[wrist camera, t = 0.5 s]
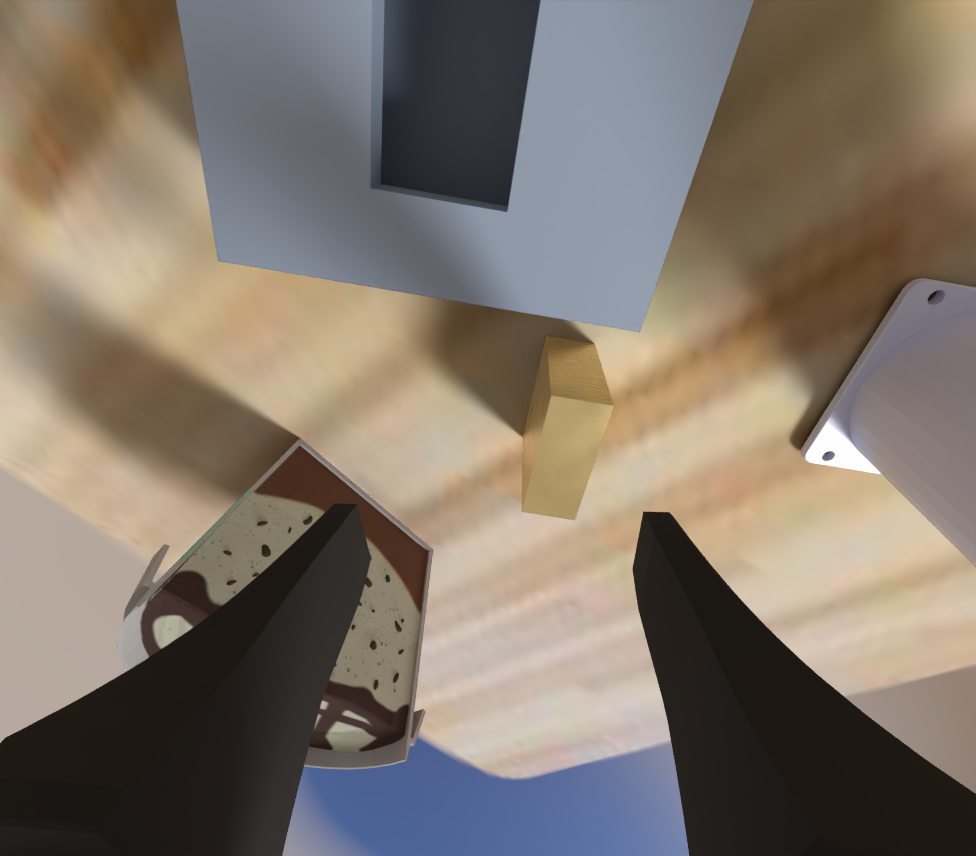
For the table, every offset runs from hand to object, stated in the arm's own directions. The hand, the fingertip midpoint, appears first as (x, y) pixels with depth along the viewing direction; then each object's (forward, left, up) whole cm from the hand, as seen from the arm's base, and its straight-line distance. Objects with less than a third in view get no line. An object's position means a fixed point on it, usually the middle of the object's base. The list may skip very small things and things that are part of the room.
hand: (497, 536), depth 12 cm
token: (-2, +1, -10) cm, 10 cm away
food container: (+8, +11, -10) cm, 16 cm away
